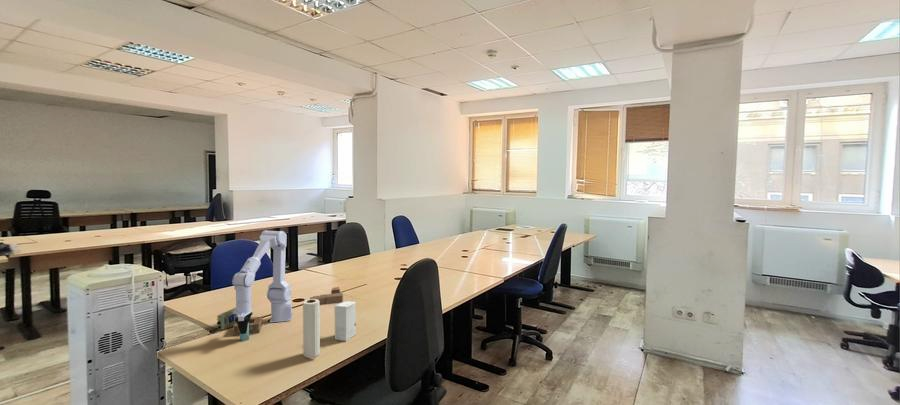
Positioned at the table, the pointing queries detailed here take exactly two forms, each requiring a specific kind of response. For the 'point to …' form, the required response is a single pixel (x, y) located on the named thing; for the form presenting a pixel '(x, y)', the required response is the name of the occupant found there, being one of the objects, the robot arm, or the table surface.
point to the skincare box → (345, 320)
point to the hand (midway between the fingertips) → (244, 331)
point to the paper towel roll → (311, 328)
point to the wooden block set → (330, 297)
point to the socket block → (250, 326)
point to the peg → (245, 335)
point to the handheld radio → (225, 320)
